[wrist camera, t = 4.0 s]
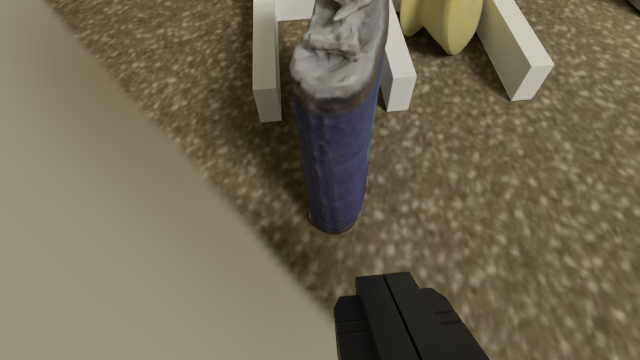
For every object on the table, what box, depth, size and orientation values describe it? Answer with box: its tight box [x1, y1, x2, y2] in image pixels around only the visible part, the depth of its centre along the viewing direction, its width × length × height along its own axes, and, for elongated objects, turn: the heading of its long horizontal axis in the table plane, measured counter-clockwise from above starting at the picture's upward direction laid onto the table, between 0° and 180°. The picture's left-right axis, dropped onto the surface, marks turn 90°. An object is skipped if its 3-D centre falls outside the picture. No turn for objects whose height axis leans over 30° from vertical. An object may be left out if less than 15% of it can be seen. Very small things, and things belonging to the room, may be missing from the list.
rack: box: [252, 0, 554, 122], centre depth 21 cm, size 16×10×4 cm, turn 95°
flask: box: [289, 0, 389, 235], centre depth 14 cm, size 9×3×11 cm, turn 174°
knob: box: [400, 0, 483, 55], centre depth 22 cm, size 5×5×5 cm
